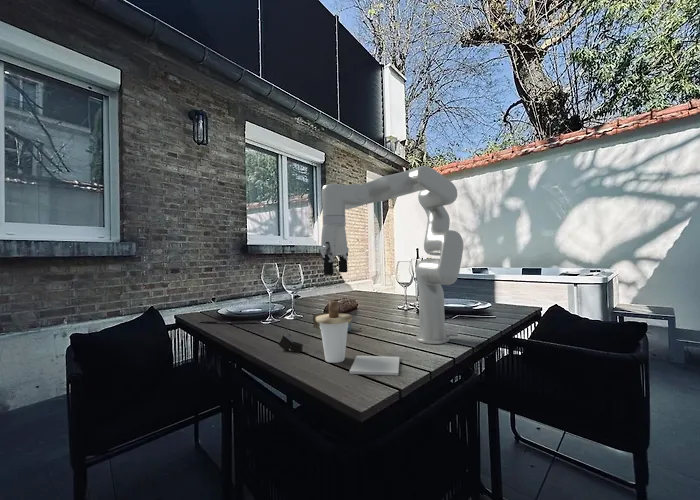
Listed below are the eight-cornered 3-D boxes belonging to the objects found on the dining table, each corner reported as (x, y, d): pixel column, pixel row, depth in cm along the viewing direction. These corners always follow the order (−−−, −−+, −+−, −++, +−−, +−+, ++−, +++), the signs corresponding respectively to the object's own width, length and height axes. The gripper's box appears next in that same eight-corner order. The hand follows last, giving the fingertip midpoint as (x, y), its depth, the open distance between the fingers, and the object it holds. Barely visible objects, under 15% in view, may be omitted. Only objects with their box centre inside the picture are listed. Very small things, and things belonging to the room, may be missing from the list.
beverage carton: (338, 334, 144) (338, 319, 144) (312, 327, 157) (311, 313, 157) (351, 330, 149) (351, 316, 149) (325, 324, 163) (324, 311, 163)
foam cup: (350, 355, 114) (349, 317, 114) (347, 364, 104) (346, 322, 104) (323, 355, 115) (322, 317, 115) (317, 364, 105) (316, 323, 105)
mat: (399, 359, 108) (399, 356, 108) (398, 375, 94) (398, 372, 94) (356, 358, 110) (356, 355, 110) (349, 373, 97) (349, 370, 97)
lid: (354, 316, 115) (354, 298, 115) (348, 324, 103) (348, 304, 103) (320, 316, 117) (320, 299, 117) (311, 323, 105) (310, 304, 105)
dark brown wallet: (299, 357, 121) (306, 345, 120) (295, 359, 119) (303, 346, 117) (281, 343, 123) (288, 330, 122) (277, 344, 121) (284, 332, 120)
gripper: (336, 224, 120) (338, 271, 120) (310, 221, 105) (312, 275, 105) (355, 222, 117) (357, 271, 117) (331, 219, 101) (333, 275, 101)
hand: (336, 273), depth 111 cm, fingers open, 9 cm apart
